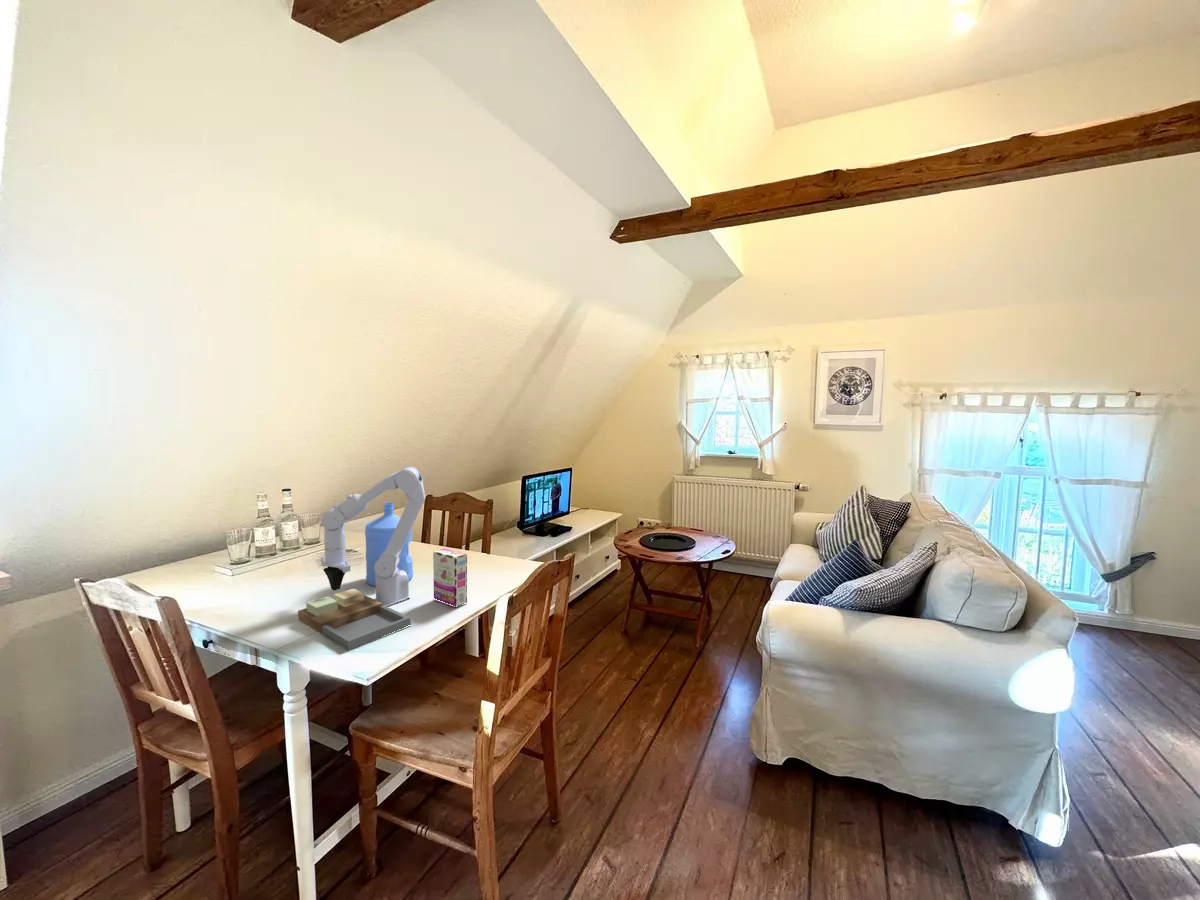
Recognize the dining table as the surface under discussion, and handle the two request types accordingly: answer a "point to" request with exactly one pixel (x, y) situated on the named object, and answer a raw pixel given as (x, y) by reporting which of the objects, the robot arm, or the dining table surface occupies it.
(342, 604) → the ash block
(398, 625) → the tray
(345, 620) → the walnut board
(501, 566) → the dining table surface
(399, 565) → the water jug
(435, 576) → the candy bar box
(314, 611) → the sage tile
